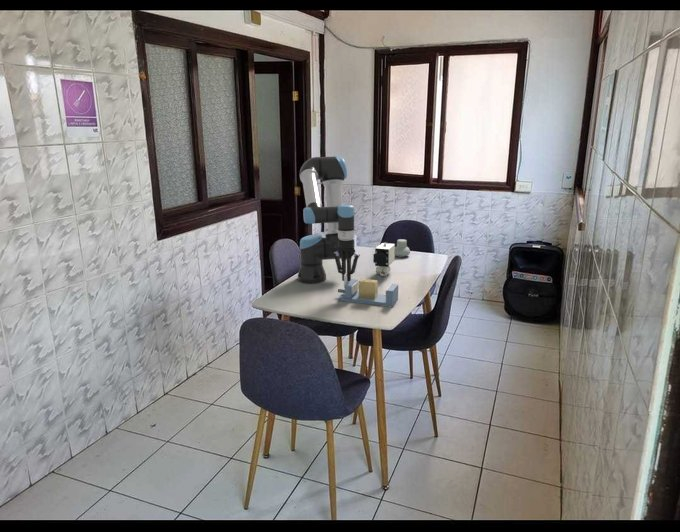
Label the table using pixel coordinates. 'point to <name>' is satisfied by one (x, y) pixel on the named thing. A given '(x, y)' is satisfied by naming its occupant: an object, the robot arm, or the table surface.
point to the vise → (383, 300)
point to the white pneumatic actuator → (384, 258)
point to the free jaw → (350, 288)
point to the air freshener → (402, 248)
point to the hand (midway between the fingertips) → (346, 287)
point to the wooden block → (368, 288)
